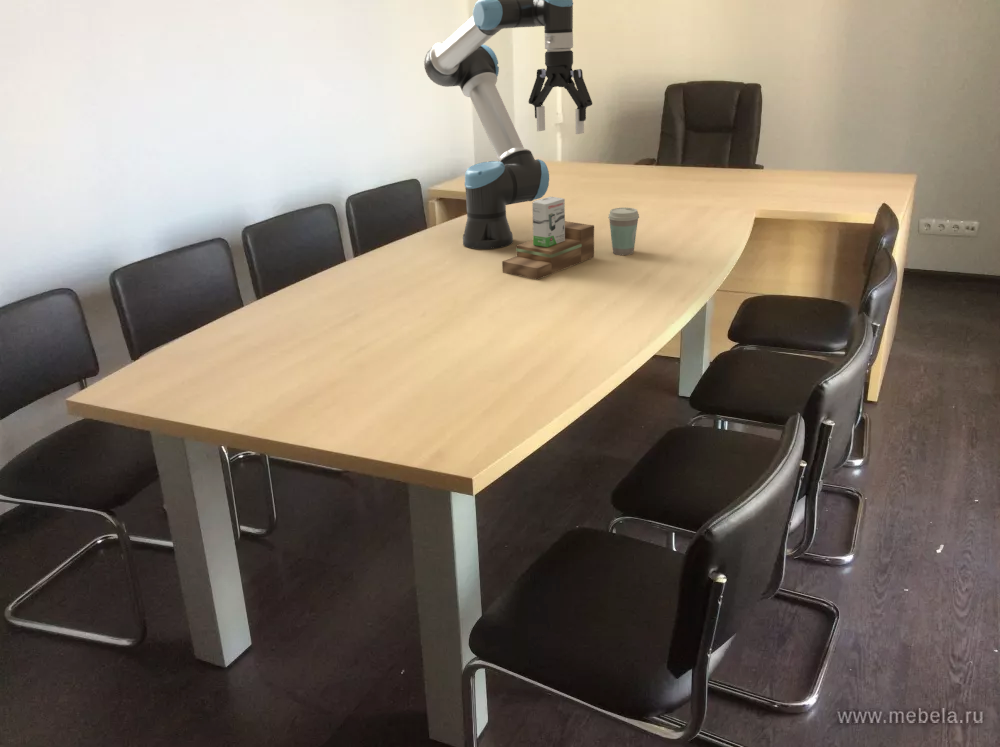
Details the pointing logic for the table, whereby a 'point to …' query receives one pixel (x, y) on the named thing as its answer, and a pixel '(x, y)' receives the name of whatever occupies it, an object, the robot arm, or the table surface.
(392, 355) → the table surface
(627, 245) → the coffee cup
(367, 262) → the table surface
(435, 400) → the table surface
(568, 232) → the stand
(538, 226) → the ink box
